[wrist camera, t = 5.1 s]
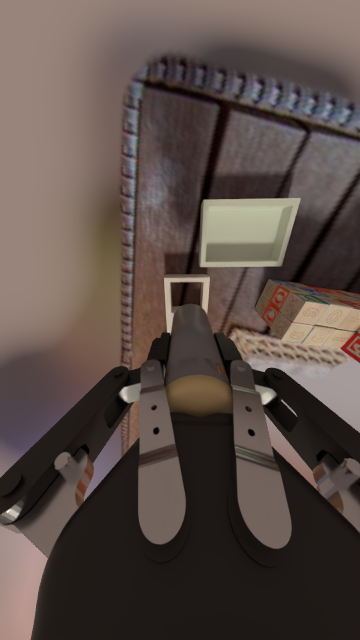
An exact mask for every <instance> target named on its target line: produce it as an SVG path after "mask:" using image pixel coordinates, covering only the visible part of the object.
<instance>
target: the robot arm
mask: <svg viewBox="0 0 360 640" xmlns="http://www.w3.org/2000/svg"><path fill="white" fill-rule="evenodd" d="M214 338H215V341H216V344H217V347H218V350H219V353H220V356H221V359H222V362H223V365H224V368H225V371H226V374H227V377H228V380H229V383H230V388H231V397H232V404H231V410H232V413H215V414H212V415H208V416H204V417H196V416H193V415H189V414H186V413H180V412H169V406H168V400H167V395H166V389H165V385H164V377H165V370H166V364H167V357H168V350H169V343H170V333H162V335H161V338H156V339H155V340H154V341H153V342H152V345H151V348H150V352H149V355H148V358H147V361H145V362H144V363H143V364H142V365H141V367H140V368H138V369H134V370H130V371H129V370H128V368H127V367H124V366H119V367H116V368H114V369H112V370H111V371H110V372H109V373H108V374H106V375H105V376H104V377H103V378H102V379H101V380H100V381H99V382H98V383H97V384H96V385H95V386H94V387H93V388H92V389H91V390H90V391H89V392H88V393H87V394H86V395H85V396H84V397H83V398H82V399H81V400H80V401H79V402H78V403H77V404H76V405H75V406H74V407H73V408H71V410H69V411H68V412H67V414H65V415H64V416H63V417H62V418H61V419H60V420H59V421H58V422H57V423H56V424H55V425H54V426H53V427H52V428H51V429H50V430H49V431H48V432H47V433H46V434H45V435H44V436H43V437H42V438H41V439H40V440H39V441H38V442H37V443H36V444H34V445H33V446H32V447H31V448H30V449H29V450H28V452H26V453H25V454H24V455H23V456H22V457H21V458H20V459H19V460H18V461H17V462H16V463H15V464H14V465H13V466H12V467H11V468H10V469H9V470H8V471H7V472H6V473H5V474H4V475H3V476H2V477H1V478H0V525H1V526H3V527H5V528H7V529H9V530H12V531H14V532H16V533H22V534H24V535H25V536H26V537H27V538H28V539H29V540H30V541H31V542H32V543H33V544H34V545H35V546H36V547H37V548H38V549H39V550H40V551H41V552H42V553H43V554H44V555H45V556H46V557H47V558H48V560H47V563H46V566H45V569H44V572H43V575H42V579H41V583H40V587H39V592H38V599H37V605H36V612H35V619H34V625H33V631H32V636H31V640H360V433H359V432H358V431H356V430H355V429H354V428H353V427H352V426H350V425H349V424H348V423H347V422H345V421H344V420H343V419H342V418H340V417H339V416H338V415H337V414H336V413H334V412H333V411H332V410H330V409H329V408H328V407H327V406H326V405H324V404H323V403H322V402H321V401H319V400H318V399H317V398H316V397H314V396H313V395H312V394H311V393H310V392H308V391H307V390H306V389H305V388H303V387H302V386H301V385H300V384H298V383H297V382H296V381H295V380H293V379H292V378H291V377H290V376H289V375H287V374H286V373H285V372H283V371H282V370H279V369H277V368H268V369H266V371H265V372H261V371H258V370H254V369H252V368H251V366H250V365H249V364H248V363H247V362H245V361H243V359H242V357H241V355H240V353H239V351H238V350H237V348H236V346H235V344H234V342H233V341H232V340H231V339H230V338H225V335H224V333H214ZM137 400H140V437H139V438H138V439H137V440H136V442H135V443H134V444H133V445H132V446H131V447H130V449H129V450H128V451H127V452H126V453H125V454H124V456H123V457H122V458H121V459H120V460H119V461H118V463H117V464H116V465H115V466H114V467H113V468H112V470H111V471H110V472H109V473H108V474H107V476H106V477H105V478H104V479H103V480H102V481H101V482H100V484H99V485H98V486H97V487H96V488H95V489H94V490H93V492H92V493H91V494H90V495H89V496H88V497H87V499H86V500H85V501H84V496H85V492H86V489H87V487H88V486H89V484H90V481H91V479H92V477H93V473H94V466H93V462H94V461H95V459H96V458H97V456H98V455H99V453H100V452H101V450H102V449H103V448H104V446H105V445H106V443H107V442H108V440H109V439H110V437H111V436H112V434H113V433H114V431H115V430H116V428H117V427H118V425H119V424H120V422H121V421H122V419H123V418H124V416H125V415H126V413H127V412H128V411H129V409H130V408H131V406H132V405H133V403H134V401H137ZM281 400H283V401H284V402H285V403H287V405H288V406H289V407H290V408H292V410H293V411H294V412H295V413H296V415H297V416H296V415H295V414H294V413H293V412H291V410H290V409H289V408H288V407H287V406H286V405H285V404H284V403H283V402H282V401H281ZM265 414H266V415H267V416H268V417H269V419H270V420H271V421H272V422H273V424H274V425H275V426H276V427H277V429H278V430H279V431H280V432H281V433H282V435H283V436H284V437H285V438H286V440H287V441H288V442H289V443H290V444H291V446H292V447H293V448H294V449H295V450H296V452H297V453H298V454H299V455H300V457H301V458H302V459H303V460H304V461H305V463H306V464H307V465H308V466H309V468H310V469H311V470H312V471H313V476H314V480H315V482H316V484H317V489H318V491H319V492H318V491H317V490H316V489H315V488H314V487H313V486H312V485H311V484H310V483H309V482H308V481H307V480H306V479H305V478H304V477H303V476H302V475H301V474H300V473H299V472H298V471H297V470H296V469H295V468H294V467H293V466H292V465H291V464H290V463H289V462H287V461H286V460H285V459H284V458H283V457H282V456H281V455H280V454H279V453H278V452H277V451H276V450H275V449H274V448H273V447H272V446H271V442H270V437H269V432H268V427H267V423H266V418H265ZM83 501H84V502H83Z"/></svg>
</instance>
